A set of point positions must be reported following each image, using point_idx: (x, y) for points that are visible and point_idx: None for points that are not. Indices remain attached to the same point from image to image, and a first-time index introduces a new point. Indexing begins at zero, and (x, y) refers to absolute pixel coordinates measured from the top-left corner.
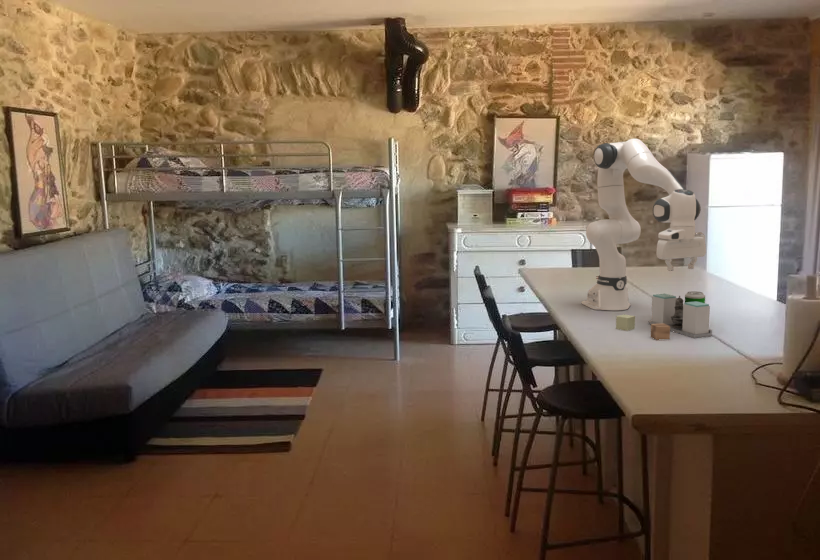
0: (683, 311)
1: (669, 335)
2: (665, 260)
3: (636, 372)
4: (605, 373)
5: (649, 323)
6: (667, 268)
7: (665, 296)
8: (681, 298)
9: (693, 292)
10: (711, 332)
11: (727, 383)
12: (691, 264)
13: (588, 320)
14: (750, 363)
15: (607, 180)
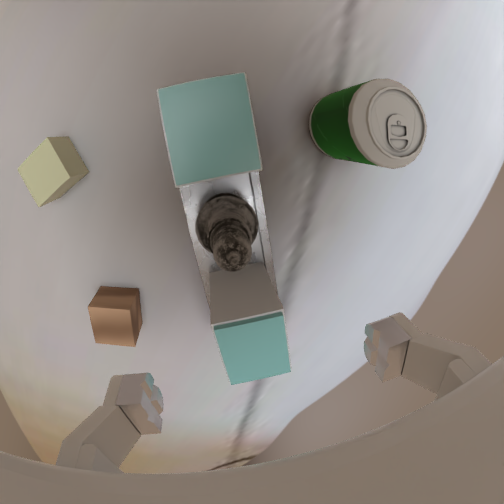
0: (210, 309)
1: (139, 329)
2: (64, 455)
3: (56, 443)
4: (24, 432)
5: None
6: (109, 387)
7: (198, 159)
8: (241, 261)
9: (403, 96)
10: None
11: None
12: (398, 367)
13: (22, 46)
14: (223, 456)
15: None
